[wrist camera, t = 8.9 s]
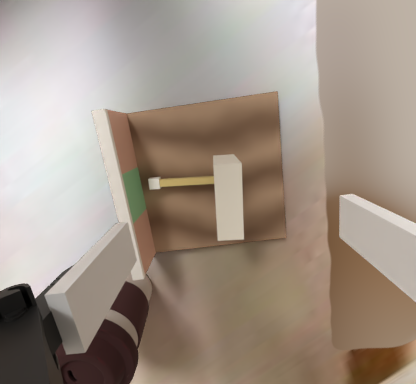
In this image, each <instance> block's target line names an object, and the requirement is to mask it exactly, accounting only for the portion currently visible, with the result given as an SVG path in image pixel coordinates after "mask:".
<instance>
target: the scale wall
mask: <svg viewBox="0 0 416 384" xmlns="http://www.w3.org/2000/svg"><path fill="white" fill-rule="evenodd" d="M92 116H93V120H94V124H95V128H96V132H97V136H98V140H99V144H100V148H101V152H102V156H103V160H104V165H105V169H106V173H107V177H108V181H109V185H110V189H111V193H112V197H113V201H114V205H115V210H116V214H117V218H118V222H119V223H122V222H128V225H129V229H130V234H131V238H132V242H133V246H134V250H135V254H136V258H137V261H136V263H135V265H134V267H133V268H132V270H131V275H132V279H133V280H141V279H144V278H145V274H146V272H147V270H148V268H149V266H150V264H151V262H152V259H153V257H154V255H155V253H156V252H155V247H154V242H153V237H152V233H151V228H150V223H149V218H148V214H147V209H146V204H145V199H144V195H143V190H142V185H141V180H140V176H139V171H138V166H137V161H136V157H135V152H134V147H133V142H132V138H131V133H130V128H129V123H128V119H127V114H126V113H121V112H116V111H111V110H107V109H100V110H94V111H92Z"/></svg>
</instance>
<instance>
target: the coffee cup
mask: <svg viewBox="0 0 416 384" xmlns="http://www.w3.org/2000/svg"><path fill="white" fill-rule="evenodd" d="M151 294H152V285H151V281H150V280H149V278H148V277H147V275H146V274H145V278H144V279H141V280H133V279H132V275H131V272H130V274H129V276H128V277H127V279H126V281H125V283H124V285H123V286H122V288H121V290H120V292H119V294H118V295H117V297H116V299H115V301H114V302H113V304H112V306H111V308H110V310H109V311H108V313H107V315H106V317H105V319H104V320H103V322H102V324H101V326H100V328H99V329H98V331H97V333H96V335H95V336H94V338H93V340H92V342H91V344H90V345H89V347H88V349H87V351H86V353H78V354H68V355H66V352H65V349H64V347H63V344H62V343H61V345H60V346H59V347H58V349H57V350H56V355H57V357H58V360H59V365H60V370H61V374H62V379H63V383H64V384H130V382H131V381H132V379H133V376H134V373H135V370H136V367H137V364H138V350H137V349H138V347H139V344H140V341H141V337H142V333H143V329H144V326H145V322H146V318H147V314H148V309H149V301H150V298H151Z"/></svg>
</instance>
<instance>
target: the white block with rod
mask: <svg viewBox="0 0 416 384" xmlns="http://www.w3.org/2000/svg"><path fill="white" fill-rule="evenodd" d="M213 170H214V176H201V177H185V178H168V179H161V177H153V178H149V179H148V182H149V189H150V190H151V189H160V188H161V187H167V186H184V185H201V184H214V186H215V203H216V220H217V237H218V241H224V240H244V224H243V189H242V163H241V162H240V161H239V160H238V158H237V157H236V156H235V155H234V154H228V155H213Z"/></svg>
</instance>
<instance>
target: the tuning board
mask: <svg viewBox="0 0 416 384" xmlns="http://www.w3.org/2000/svg"><path fill="white" fill-rule="evenodd" d="M127 119H128V123H129V128H130V133H131V138H132V142H133V147H134V152H135V157H136V161H137V166H138V171H139V176H140V180H141V185H142V190H143V195H144V199H145V204H146V209H147V214H148V218H149V223H150V228H151V233H152V237H153V242H154V247H155V252H156V253H157V252H165V251H174V250H183V249H192V248H200V247H209V246H218V245H226V244H235V243H244V242H253V241H261V240H270V239H279V238H286V225H285V208H284V192H283V175H282V158H281V141H280V125H279V108H278V91H276V92H270V93H263V94H256V95H249V96H243V97H236V98H229V99H222V100H215V101H209V102H202V103H195V104H188V105H182V106H175V107H168V108H161V109H155V110H148V111H141V112H134V113H127ZM228 154H234V155H235V156H236V157H237V158H238V160H239V161H240V162H241V163H242V189H243V224H244V240H224V241H218V237H217V220H216V203H215V186H214V184H201V185H184V186H167V187H161V188H160V189H151V190H150V189H149V182H148V179H149V178H153V177H161V179H168V178H185V177H201V176H214V170H213V155H228Z"/></svg>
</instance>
